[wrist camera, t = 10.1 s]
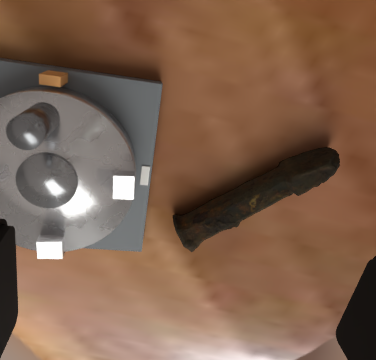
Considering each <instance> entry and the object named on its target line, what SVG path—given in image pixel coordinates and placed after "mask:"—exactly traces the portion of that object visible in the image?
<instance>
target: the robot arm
mask: <svg viewBox="0 0 376 360" xmlns="http://www.w3.org/2000/svg"><path fill="white" fill-rule="evenodd" d="M17 316H18V296H17V268H16V241H15V228H14V227H13V226H8V224H7V221H6V220H5V219H0V358H1V355H2V353H3V351H4V349H5V347H6V344H7V342H8V340H9V337H10V335H11V333H12V331H13V329H14V327H15V324H16V320H17ZM336 338H337V341H338V343H339V345H340V347H341V349H342V350H343V352H344V354H345V355H346V357H347V359H348V360H376V256H375V257H374V258H373V259H371V260H370V261H369V262H368V263H367V265H366V268H365V270H364V272H363V274H362V276H361V278H360V280H359V282H358V284H357V287H356V289H355V291H354V293H353V295H352V297H351V299H350V301H349V303H348V306H347V308H346V310H345V312H344V314H343V316H342V318H341V320H340V322H339V324H338V327H337V329H336Z"/></svg>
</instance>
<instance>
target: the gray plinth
mask: <svg viewBox="0 0 376 360" xmlns="http://www.w3.org/2000/svg"><path fill="white" fill-rule="evenodd" d="M40 86H42V87H58V88H65V89H68V90H72V91H76V92H78V93H81V94H83V95H85V96H87V97H89V98H91V99H93V100H95V101H96V102H98V103H99V104H101V105H102V106H103V107H105V108H106V109H107V110H108V111H109V112H110V113H111V114H113V115H114V116H115V118H116V119H117V120H118V121H119V122H120V124H121V125H122V127H123V128H124V130H125V131H126V133H127V135H128V137H129V139H130V141H131V143H132V147H133V150H134V154H135V159H136V184H135V193H134V200H132V203H131V206H130V208H129V210H128V212H127V214H126V216H125V217H124V219H123V220H122V221H121V223H120V224H119V225H118V226H117V227H116V228H115V229H114V230H113V231H112V232H111V233H110V234H108V235H107V236H106V237H104V238H103V239H101V240H99V241H98V242H96V243H94V244H92V245H89V246H86V247H84V248H90V249H107V250H123V251H139V252H141V251H142V243H143V235H144V227H145V220H146V212H147V204H148V196H149V188H150V180H151V172H152V164H153V156H154V148H155V140H156V132H157V124H158V116H159V108H160V100H161V92H162V82H161V81H154V80H147V79H140V78H134V77H127V76H120V75H113V74H106V73H100V72H93V71H86V70H79V69H73V68H66V67H59V66H52V65H45V64H39V63H32V62H25V61H18V60H11V59H5V58H0V98H2V97H4V96H6V95H8V94H11V93H13V92H16V91H18V90H22V89H26V88H32V87H40Z"/></svg>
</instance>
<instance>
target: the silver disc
mask: <svg viewBox="0 0 376 360" xmlns="http://www.w3.org/2000/svg"><path fill="white" fill-rule="evenodd" d="M135 184H136V159H135V154H134V150H133V147H132V143H131V141H130V139H129V137H128V135H127V133H126V131H125V130H124V128H123V127H122V125H121V124H120V122H119V121H118V120H117V119H116V118H115V116H114V115H113V114H111V113H110V112H109V111H108V110H107V109H106V108H105V107H103V106H102V105H101V104H99V103H98V102H96V101H95V100H93V99H91V98H89V97H87V96H85V95H83V94H81V93H78V92H76V91H72V90H68V89H65V88H58V87H42V86H40V87H32V88H26V89H22V90H18V91H16V92H13V93H11V94H8V95H6V96H4V97H2V98H0V219H5V220H6V221H7V224H8V226H13V227H14V228H15V241H16V245H17V246H20V247H23V248H27V249H31V250H36V251H37V258H38V259H63V256H64V253H65V251H72V250H76V249H80V248H84V247H86V246H89V245H92V244H94V243H96V242H98V241H99V240H101V239H103V238H104V237H106V236H107V235H108V234H110V233H111V232H112V231H113V230H114V229H115V228H116V227H117V226H118V225H119V224H120V223H121V221H122V220H123V219H124V217H125V216H126V214H127V212H128V210H129V208H130V206H131V203H132V200H134V193H135Z"/></svg>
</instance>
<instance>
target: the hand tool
mask: <svg viewBox="0 0 376 360" xmlns="http://www.w3.org/2000/svg"><path fill="white" fill-rule="evenodd" d="M339 163H340V159H339V154H338V153H337V151H336V150H334V149H331V148H327V147H326V148H320V149H316V150H312V151H308V152H305V153H302V154H300V155H298V156H295V157H291V158H289V159H286V160H283V161H281V162H280V163H279V166H278V167H277V168H275V169H273V170H272V171H270V172H268V173H266V174H264V175H261V176H259V177H257V178H255V179H253V180H251V181H248V182H246V183H244V184H242V185H241V186H239V187H238V188H236V189H234V190H232V191H230V192H228V193H226V194H223V195H221V196H219V197H217V198H215V199H213V200H210V201H209V202H208V203H206V204H204V205H202V206H201V207H199V208H197V209H195V210H193V211H192V212H190V213H188V214H185V215H182V216H178V215H173V221H174V226H175V230H176V232H177V234H178V236H179V238H180V240H181V242H182V244H183V246H184V247H185V248H187V249H189V250H190V251H191V252H193V251H194V250H195V249H196V248H197V247H198V246H199V245H200V243H202V242H203V241H204V240H206V239H208V238H210V237H212V236H213V235H216V234H217V233H219V232H221V231H223V230H227V229H231V228H232V227H238V226H239V224H240V222H241V221H242V220H244V219H246V218H248V217H250V216H252V215H253V214H255V213H257V212H259V211H261V210H263V209H265V208H267V207H269V206H271V205H272V204H274V203H276V202H278V201H279V200H281V199H283V198H285V197H287V196H290V195H292V194H293V193H295V194H296V195H298V196H299V195H301V194H303V193H305V192H307V191H309V190H310V189H311V188H313V187H317V186H319V185H320V184H321V183H324V182H325V181H327V180H328V179H329V178H330V177H331V176H333V175H334V174H335V172H336V171H337V169H338V167H339V166H340V164H339Z"/></svg>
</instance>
